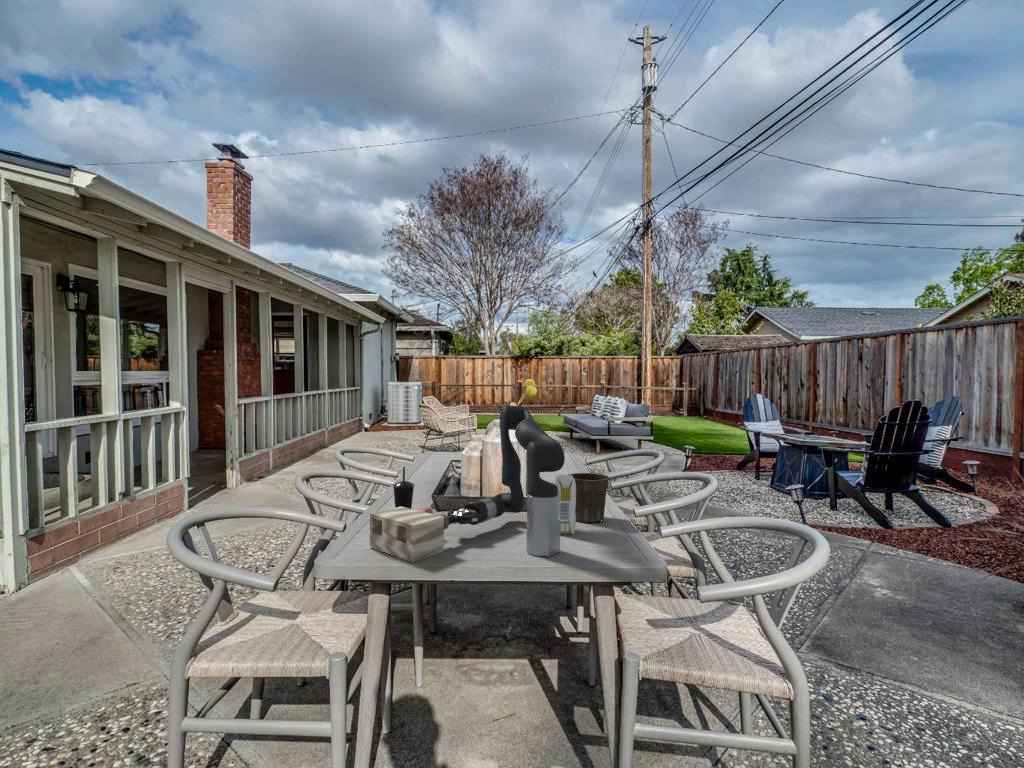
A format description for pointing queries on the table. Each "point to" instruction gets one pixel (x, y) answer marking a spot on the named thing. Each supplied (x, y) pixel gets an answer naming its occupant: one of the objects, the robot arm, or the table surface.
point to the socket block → (421, 533)
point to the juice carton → (566, 503)
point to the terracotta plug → (426, 510)
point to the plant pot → (590, 496)
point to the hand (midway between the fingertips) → (443, 521)
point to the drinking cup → (403, 493)
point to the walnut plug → (404, 530)
